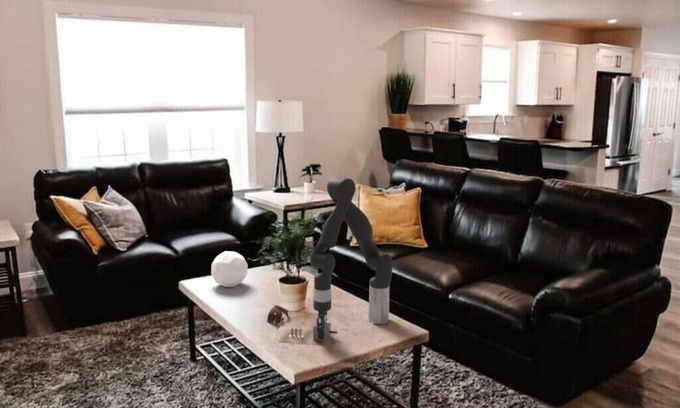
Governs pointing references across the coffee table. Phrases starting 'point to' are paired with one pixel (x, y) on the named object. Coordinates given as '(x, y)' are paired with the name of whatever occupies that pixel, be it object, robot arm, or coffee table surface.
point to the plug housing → (326, 332)
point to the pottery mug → (278, 315)
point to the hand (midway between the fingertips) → (322, 335)
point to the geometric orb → (229, 269)
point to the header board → (302, 337)
